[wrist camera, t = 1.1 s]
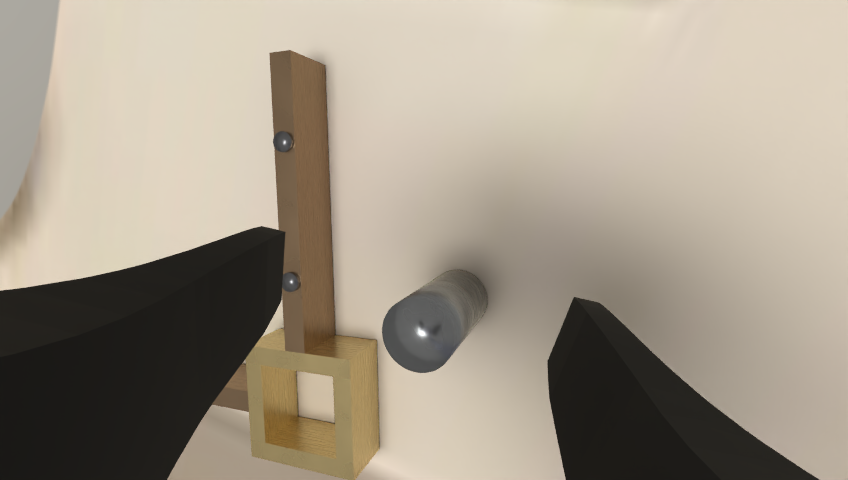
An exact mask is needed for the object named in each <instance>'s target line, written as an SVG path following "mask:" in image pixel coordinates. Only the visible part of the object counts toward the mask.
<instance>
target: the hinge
mask: <svg viewBox="0 0 848 480" xmlns="http://www.w3.org/2000/svg"><path fill="white" fill-rule="evenodd" d="M270 70H271V89H272V108H273V127H274V139H273V144H274V147H275V166H276V185H277V204H278V223H279V230H280V231H284V232H285V249H284V266H283V283H282V299H283V318H284V329H278V330H276V331H274V332H272V333H269V334H267V335H265V336H263V337H261V338H260V339H259V341H258V342H257V344H256V345H255V346H254V348H253V349H252V350H251V352H250V353H249V355H248V356H247V357H246V364H241V365H240V367H239V368H238V370H237V371H236V372H235V374H234V375H233V376H232V378H231V379H230V380H229V382H228V383H227V384H226V386H225V387H224V389H223V390H222V391H221V393H220V394H219V395H218V397H217V398H216V399H215V401H214V402H213V403H212V404H213V405H218V406H223V407H228V408H233V409H237V410H242V411H247V412H249V419H250V435H251V450H252V456H253V457H257V458H261V459H265V460H270V461H274V462H278V463H282V464H286V465H290V466H294V467H298V468H302V469H306V470H311V471H315V472H319V473H323V474H327V475H331V476H335V477H339V478H343V479H348V480H355V479H356V478H357V477H358V475H359V474H360V473H361V471H362V470H363V469H364V468H365V466H366V465H367V464H368V463H369V461H370V460H371V459H372V457H373V456H374V455H375V454H376V452H377V451H378V450H379V415H378V377H377V340H372V339H363V338H355V337H347V336H338V335H335V316H334V290H333V263H332V237H331V210H330V184H329V157H328V131H327V104H326V78H325V65H323V64H321V63H319V62H316V61H314V60H312V59H309V58H307V57H305V56H302V55H300V54H298V53H296V52H293V51H291V50H288V51H281V52H273V53H270ZM296 371H301V372H308V373H314V374H321V375H327V376H333V387H334V413H335V424H333V423H328V422H323V421H318V420H313V419H308V418H303V417H298V404H297V384H296Z"/></svg>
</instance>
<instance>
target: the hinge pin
mask: <svg viewBox="0 0 848 480" xmlns="http://www.w3.org/2000/svg"><path fill="white" fill-rule="evenodd" d="M486 308H487V293H486V290H485V288H484V286H483V284H482V283H481V281H480V280H479V279H478V278H477V277H476V276H474V275H473V274H471V273H469V272H467V271H463V270H451V271H448V272H445V273H444V274H442V275H440V276H439V277H437V278H436V279H434V280H433V281H431V282H429V283H428V284H426V285H425V286H423V287H422V288H420V289H418V290H417V291H415V292H414V293H412V294H410V295H409V296H407V297H406V298H404V299H403V300H401V301H399V302H398V303H396V304H395V305H394V306H392V307H391V309H390V310H389V311H388V313H387V314H386V316H385V318H384V322H383V327H382V335H383V341H384V344H385V347H386V349H387V351H388V352H389V354H390V356H391V357H392V358H393V359H394V360H395V361H396V362H397V363H398V364H399V365H401V366H402V367H404V368H406V369H408V370H410V371H413V372H418V373H427V372H432V371H434V370H437V369H438V368H440V367H441V366H443V365H444V364H445V363H446V362H447V360H448V359H449V358H450V357H451V355H452V354H453V353H454V352H455V350H456V349H457V348H458V347H459V345H460V344H461V343H462V342H463V340H464V339H465V338H466V336H467V335H468V334H469V333H470V331H471V330H472V329H473V328H474V326H475V325H476V324H477V323H478V321H479V320H480V319H481V318H482V316H483V315H484V313H485V311H486Z"/></svg>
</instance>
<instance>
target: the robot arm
mask: <svg viewBox="0 0 848 480" xmlns="http://www.w3.org/2000/svg"><path fill="white" fill-rule="evenodd" d="M284 249H285V232H284V231H280V230H276V229H271V228H267V227H262V226H261V227H256V228H253V229H249V230H246V231H243V232H240V233H237V234H234V235H231V236H229V237H226V238H223V239H220V240H217V241H214V242H211V243H209V244H206V245H203V246H200V247H197V248H194V249H191V250H188V251H185V252H182V253H179V254H175V255H172V256H169V257H166V258H162V259H159V260H156V261H153V262H149V263H146V264H142V265H139V266H135V267H131V268H127V269H123V270H119V271H114V272H110V273H105V274H101V275H96V276H92V277H87V278H82V279H76V280H70V281H63V282H57V283H51V284H45V285H39V286H33V287H27V288H20V289H12V290H3V291H0V480H167V478H168V477H169V475H170V473H171V471H172V469H173V468H174V466H175V464H176V462H177V460H178V459H179V457H180V455H181V454H182V452H183V450H184V448H185V447H186V445H187V443H188V442H189V440H190V438H191V437H192V435H193V433H194V431H195V430H196V428H197V426H198V425H199V423H200V421H201V420H202V418H203V417H204V415H205V414H206V412H207V411H208V409H209V408H210V406H211V405H212V403H213V402H214V401H215V399H216V398H217V397H218V395H219V394H220V393H221V391H222V390H223V389H224V387H225V386H226V384H227V383H228V382H229V380H230V379H231V378H232V376H233V375H234V374H235V372H236V371H237V370H238V368H239V367H240V365H241V364H242V363H243V361H244V360H245V359H246V357H247V356H248V355H249V353H250V352H251V350H252V349H253V348H254V346H255V345H256V344H257V342H258V341H259V339H260V338H261V336H262V335H263V334H264V332H265V330H266V329H267V327H268V325H269V323H270V321H271V320H272V318H273V316H274V314H275V312H276V310H277V308H278V306H279V304H280V302H281V300H282V283H283V266H284ZM548 383H549V397H550V403H551V409H552V414H553V419H554V424H555V429H556V434H557V439H558V444H559V448H560V453H561V458H562V463H563V468H564V473H565V478H566V480H819V479H817V478H816V477H814V476H813V475H811V474H809V473H808V472H806V471H805V470H803V469H802V468H800V467H799V466H797V465H796V464H794V463H793V462H791V461H790V460H788V459H787V458H785V457H784V456H782V455H781V454H779V453H778V452H776V451H775V450H773V449H772V448H770V447H769V446H767V445H766V444H764V443H763V442H761V441H760V440H759V439H757V438H756V437H754V436H753V435H751V434H750V433H749V432H747V431H746V430H744V429H743V428H742V427H741V426H739V425H738V424H737V423H735V422H734V421H733V420H731V419H730V418H729V417H727V416H726V415H725V414H723V413H722V412H721V411H719V410H718V409H717V408H716V407H714V406H713V405H712V404H711V403H709V402H708V401H707V400H706V399H704V398H703V397H702V396H701V395H699V394H698V393H697V392H696V391H695V390H694V389H692V388H691V387H690V386H689V385H688V384H687V383H686V382H684V381H683V380H682V379H681V378H680V377H679V376H677V375H676V374H675V373H674V372H673V371H672V370H671V369H670V368H669V367H667V366H666V365H665V364H664V363H663V362H662V361H661V360H660V359H659V358H658V357H657V356H656V355H655V354H653V353H652V352H651V351H650V350H649V349H648V348H647V347H646V346H645V345H644V344H643V343H642V342H641V341H640V340H639V339H638V338H637V337H636V336H635V335H634V334H633V333H632V332H631V331H630V330H629V329H628V328H627V327H626V326H624V325H623V324H622V323H621V322H620V321H619V320H618V319H617V318H616V317H615V316H614V315H613V314H612V313H611V312H610V311H609V310H607V309H606V308H605V307H604V306H603V305H601V304H600V303H598V302H594V301H589V300H585V299H580V298H576V297H574V298H573V301H572V303H571V306H570V308H569V311H568V313H567V315H566V318H565V320H564V323H563V325H562V328H561V330H560V332H559V335H558V337H557V340H556V342H555V345H554V347H553V349H552V352H551V354H550V357H549V359H548Z"/></svg>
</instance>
